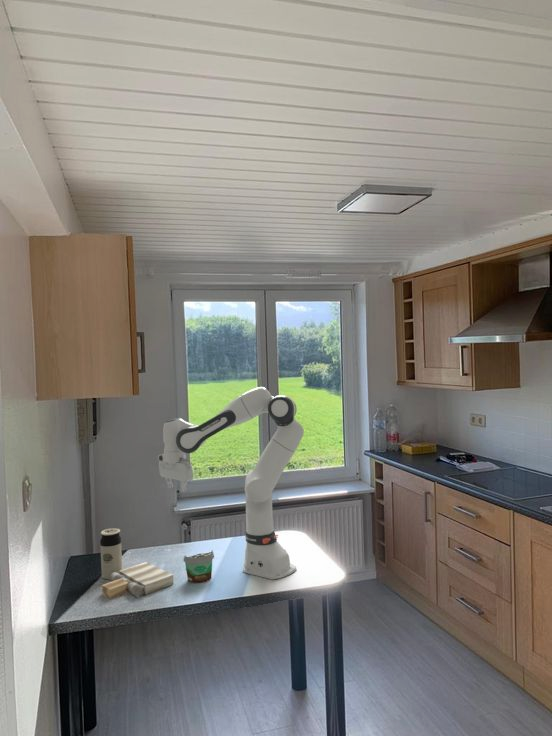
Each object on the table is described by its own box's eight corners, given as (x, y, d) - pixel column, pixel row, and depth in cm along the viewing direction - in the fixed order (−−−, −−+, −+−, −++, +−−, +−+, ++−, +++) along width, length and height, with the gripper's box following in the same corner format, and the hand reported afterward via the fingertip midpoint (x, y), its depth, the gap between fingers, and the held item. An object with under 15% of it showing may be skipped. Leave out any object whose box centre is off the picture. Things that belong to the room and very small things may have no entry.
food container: (188, 587, 192) (188, 560, 192) (184, 581, 198) (183, 555, 198) (219, 579, 198) (218, 554, 198) (214, 574, 203) (213, 549, 203)
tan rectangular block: (134, 589, 192) (134, 580, 192) (110, 599, 185) (109, 589, 185) (126, 585, 196) (126, 576, 196) (102, 594, 189) (101, 584, 189)
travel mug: (110, 570, 211) (108, 527, 211) (126, 572, 208) (124, 528, 208) (97, 578, 203) (95, 533, 203) (114, 580, 201) (112, 535, 200)
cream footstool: (173, 583, 196) (173, 574, 196) (135, 598, 184) (135, 588, 184) (146, 570, 210) (145, 561, 210) (109, 583, 199) (109, 573, 198)
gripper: (195, 457, 211) (197, 490, 211) (167, 453, 225) (169, 484, 225) (183, 460, 207) (185, 494, 207) (155, 456, 221) (157, 487, 221)
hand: (177, 489), depth 216 cm, fingers open, 8 cm apart
